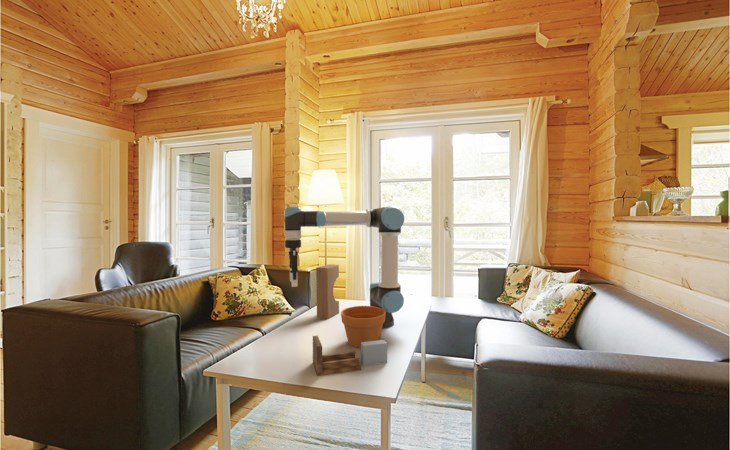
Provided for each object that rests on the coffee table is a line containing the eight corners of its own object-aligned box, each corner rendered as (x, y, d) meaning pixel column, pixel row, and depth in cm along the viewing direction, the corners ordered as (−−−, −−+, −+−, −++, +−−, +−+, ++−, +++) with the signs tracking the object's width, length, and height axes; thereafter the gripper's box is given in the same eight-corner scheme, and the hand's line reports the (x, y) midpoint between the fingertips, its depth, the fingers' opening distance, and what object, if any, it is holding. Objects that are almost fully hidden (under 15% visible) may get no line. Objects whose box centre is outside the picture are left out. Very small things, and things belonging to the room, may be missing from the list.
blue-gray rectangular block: (383, 358, 142) (383, 339, 142) (387, 362, 138) (387, 343, 138) (360, 361, 139) (360, 342, 139) (363, 365, 135) (363, 345, 135)
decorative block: (327, 319, 198) (327, 268, 197) (316, 318, 201) (316, 267, 200) (339, 312, 212) (339, 264, 211) (328, 311, 215) (328, 264, 214)
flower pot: (377, 353, 147) (377, 319, 147) (333, 347, 154) (333, 315, 154) (391, 337, 167) (390, 307, 167) (351, 333, 174) (351, 304, 174)
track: (353, 357, 143) (353, 331, 142) (361, 369, 131) (360, 341, 131) (312, 362, 138) (312, 335, 138) (317, 375, 126) (316, 346, 126)
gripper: (283, 238, 172) (284, 279, 173) (286, 241, 148) (286, 289, 149) (298, 237, 174) (299, 279, 175) (303, 240, 150) (304, 288, 151)
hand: (293, 284), depth 162 cm, fingers open, 13 cm apart
